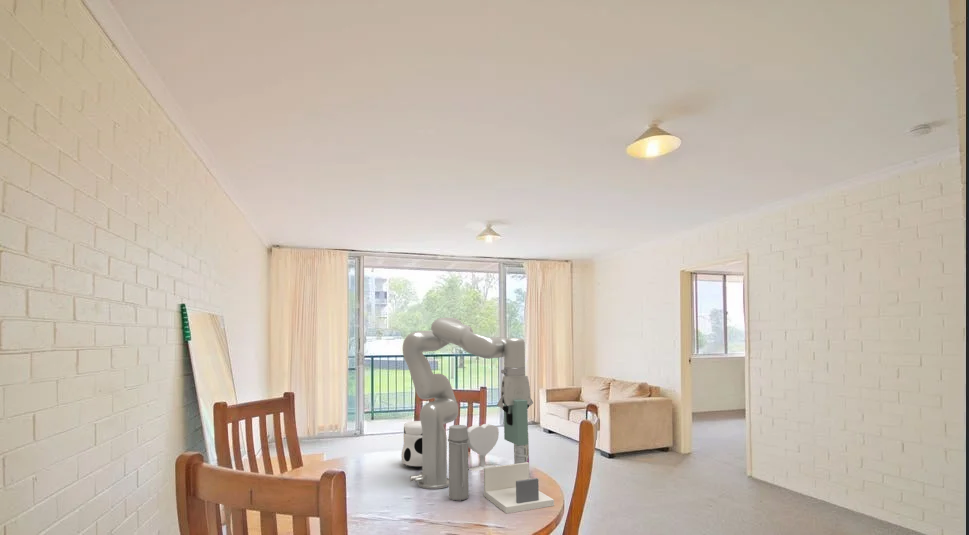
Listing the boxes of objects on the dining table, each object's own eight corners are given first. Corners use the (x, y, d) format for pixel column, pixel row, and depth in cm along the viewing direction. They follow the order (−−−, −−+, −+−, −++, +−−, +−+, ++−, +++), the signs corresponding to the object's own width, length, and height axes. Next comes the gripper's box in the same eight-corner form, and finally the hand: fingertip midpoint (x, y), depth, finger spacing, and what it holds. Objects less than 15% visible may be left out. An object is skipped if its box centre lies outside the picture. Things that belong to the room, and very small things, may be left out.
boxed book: (517, 445, 183) (517, 401, 185) (504, 439, 193) (503, 397, 195) (528, 444, 185) (527, 400, 186) (514, 438, 195) (513, 396, 196)
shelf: (506, 513, 174) (506, 482, 175) (483, 496, 191) (483, 467, 192) (554, 505, 181) (553, 475, 182) (528, 489, 198) (527, 462, 199)
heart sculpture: (493, 463, 235) (493, 422, 237) (500, 466, 231) (499, 424, 233) (464, 469, 226) (463, 426, 228) (470, 472, 222) (470, 428, 224)
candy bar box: (517, 472, 222) (517, 431, 224) (529, 472, 221) (529, 432, 223) (513, 479, 211) (513, 437, 213) (526, 480, 210) (525, 437, 212)
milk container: (402, 461, 241) (402, 420, 243) (440, 459, 243) (440, 419, 245) (400, 471, 224) (400, 428, 226) (441, 470, 226) (441, 426, 228)
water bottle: (444, 496, 191) (444, 425, 194) (465, 493, 194) (464, 423, 197) (453, 504, 183) (453, 430, 185) (474, 501, 186) (474, 428, 188)
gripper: (498, 374, 185) (498, 428, 183) (540, 372, 191) (541, 424, 189) (489, 372, 192) (490, 424, 190) (530, 370, 198) (531, 420, 196)
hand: (515, 423), depth 190 cm, fingers closed on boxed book, 4 cm apart
